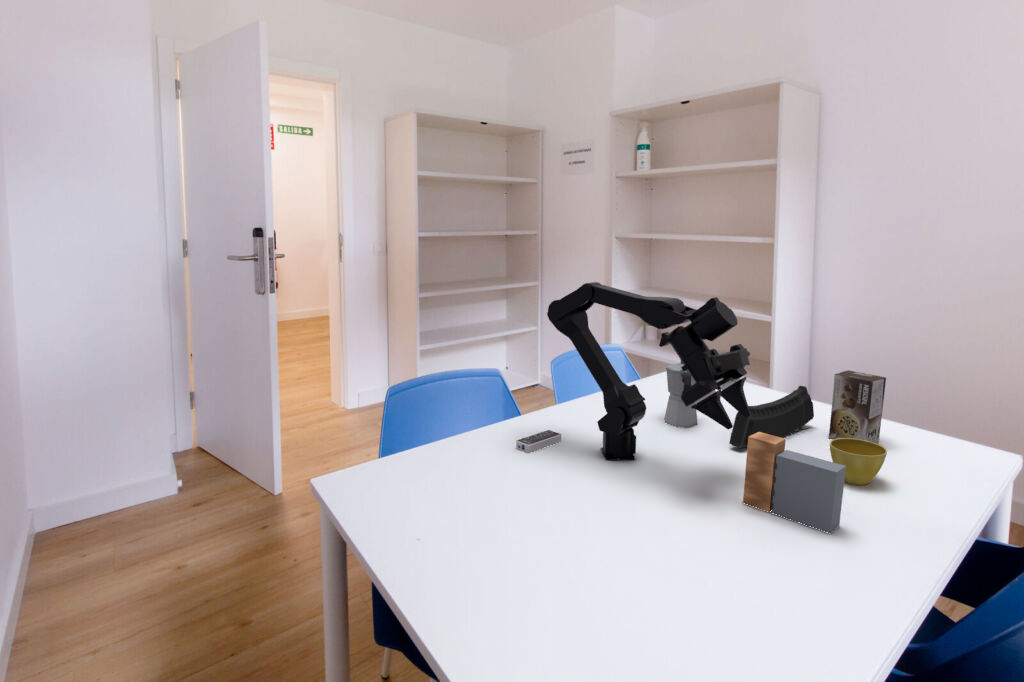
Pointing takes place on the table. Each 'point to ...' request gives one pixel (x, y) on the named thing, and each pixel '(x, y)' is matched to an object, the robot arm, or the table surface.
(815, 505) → the grey flat block
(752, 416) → the magazine
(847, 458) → the yellow bowl
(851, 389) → the coffee box
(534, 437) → the multiport hub
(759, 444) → the wooden post
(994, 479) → the table surface
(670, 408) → the coffee maker
